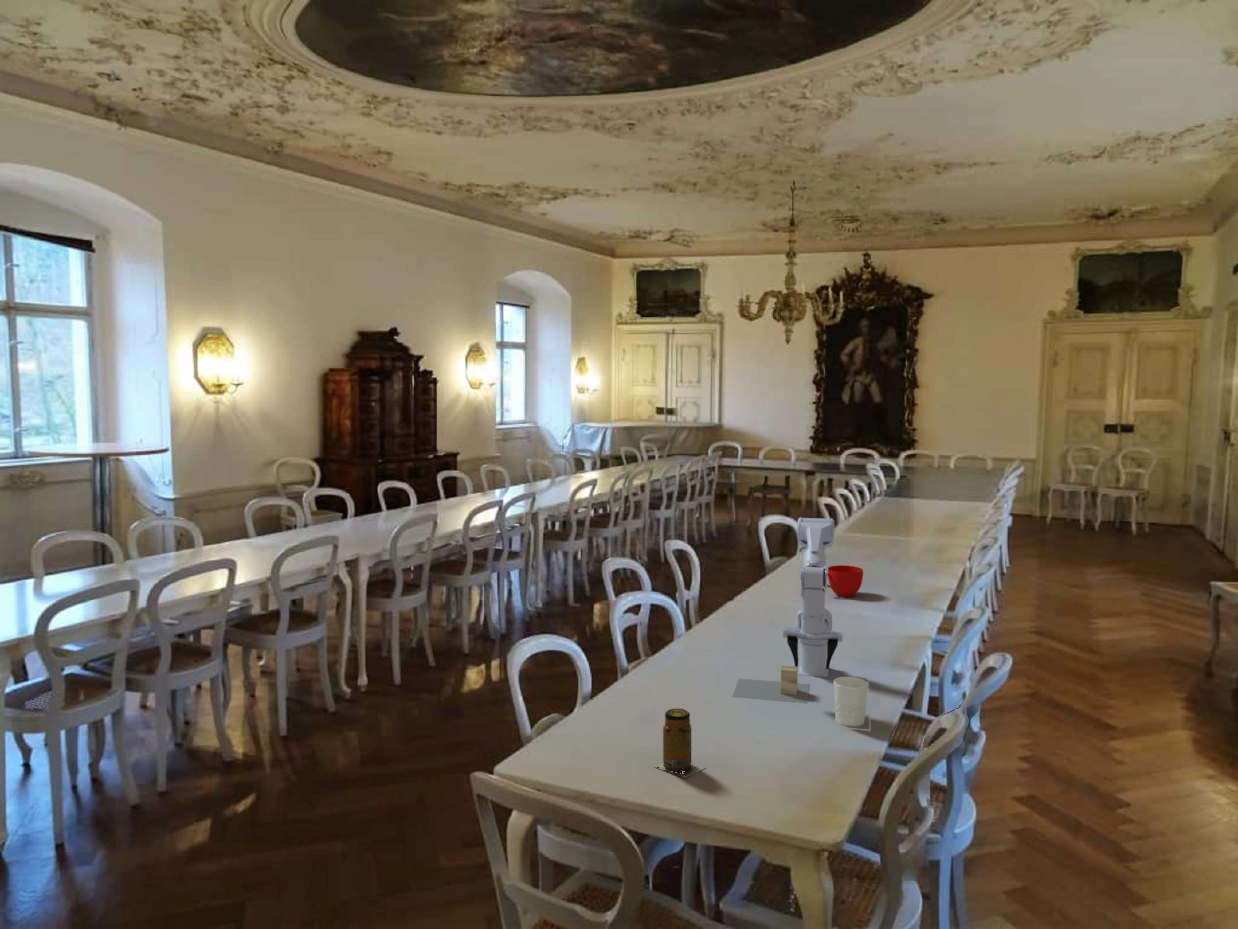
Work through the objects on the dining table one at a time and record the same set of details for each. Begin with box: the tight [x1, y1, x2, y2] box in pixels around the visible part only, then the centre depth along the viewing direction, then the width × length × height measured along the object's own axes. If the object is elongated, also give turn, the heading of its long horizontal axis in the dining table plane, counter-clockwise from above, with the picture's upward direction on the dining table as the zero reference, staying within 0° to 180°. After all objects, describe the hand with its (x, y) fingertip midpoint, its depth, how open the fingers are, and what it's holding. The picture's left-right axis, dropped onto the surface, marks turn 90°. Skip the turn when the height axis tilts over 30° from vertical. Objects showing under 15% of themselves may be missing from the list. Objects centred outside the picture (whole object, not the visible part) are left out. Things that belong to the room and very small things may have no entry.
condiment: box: [653, 707, 707, 779], centre depth 188 cm, size 7×8×12 cm
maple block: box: [780, 664, 799, 695], centre depth 231 cm, size 4×4×6 cm
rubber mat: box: [732, 677, 811, 704], centre depth 233 cm, size 14×19×1 cm
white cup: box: [833, 676, 869, 727], centre depth 212 cm, size 8×8×10 cm
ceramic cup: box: [827, 564, 864, 598], centre depth 332 cm, size 13×17×10 cm
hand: (812, 666), depth 223 cm, fingers open, 7 cm apart
